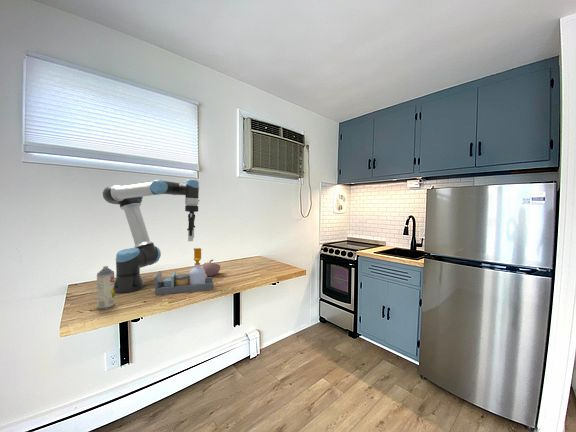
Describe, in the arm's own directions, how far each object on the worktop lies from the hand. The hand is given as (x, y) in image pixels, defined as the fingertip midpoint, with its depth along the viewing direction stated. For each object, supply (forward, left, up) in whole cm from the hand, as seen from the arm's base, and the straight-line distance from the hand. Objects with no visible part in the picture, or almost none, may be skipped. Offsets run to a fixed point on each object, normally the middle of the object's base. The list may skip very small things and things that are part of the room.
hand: (191, 239), depth 144 cm
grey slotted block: (-2, -3, -30) cm, 30 cm away
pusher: (-12, -3, -29) cm, 32 cm away
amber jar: (-5, -3, -30) cm, 30 cm away
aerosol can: (-38, -18, -30) cm, 52 cm away
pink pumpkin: (+13, +20, -30) cm, 38 cm away
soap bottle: (+4, -3, -30) cm, 30 cm away
